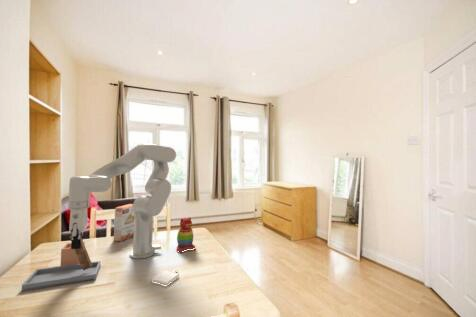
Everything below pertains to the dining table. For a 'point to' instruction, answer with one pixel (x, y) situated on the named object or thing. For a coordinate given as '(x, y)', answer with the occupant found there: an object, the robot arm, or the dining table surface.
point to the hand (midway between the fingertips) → (76, 246)
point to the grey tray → (60, 276)
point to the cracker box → (124, 222)
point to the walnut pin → (83, 256)
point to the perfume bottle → (165, 277)
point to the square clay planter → (68, 255)
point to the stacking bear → (185, 235)
